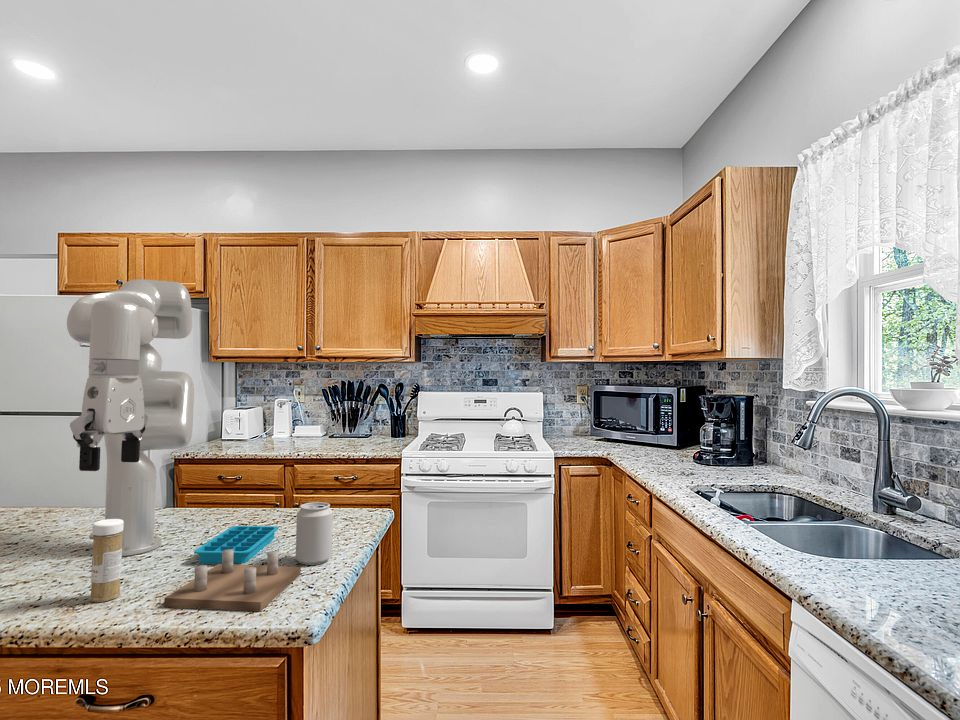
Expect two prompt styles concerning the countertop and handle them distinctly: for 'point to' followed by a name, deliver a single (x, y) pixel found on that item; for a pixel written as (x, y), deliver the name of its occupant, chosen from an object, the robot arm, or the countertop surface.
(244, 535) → the ice cube tray
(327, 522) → the can
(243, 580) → the peg board
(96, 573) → the sprinkles bottle
